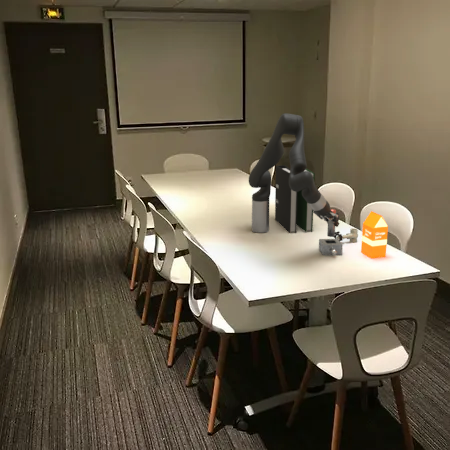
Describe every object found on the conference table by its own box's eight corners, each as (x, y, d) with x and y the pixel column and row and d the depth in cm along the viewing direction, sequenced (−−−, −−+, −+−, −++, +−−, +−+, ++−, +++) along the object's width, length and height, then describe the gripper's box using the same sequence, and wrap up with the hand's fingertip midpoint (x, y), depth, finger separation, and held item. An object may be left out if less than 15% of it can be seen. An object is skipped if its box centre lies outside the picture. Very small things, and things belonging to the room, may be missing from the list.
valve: (352, 239, 249) (332, 242, 244) (353, 227, 247) (333, 229, 243) (360, 243, 243) (340, 246, 239) (361, 230, 241) (341, 233, 237)
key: (328, 236, 227) (329, 210, 223) (326, 234, 230) (327, 208, 227) (335, 236, 227) (336, 210, 223) (333, 234, 230) (335, 208, 227)
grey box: (324, 258, 223) (325, 247, 221) (318, 248, 235) (319, 239, 234) (344, 257, 223) (344, 247, 221) (337, 248, 235) (337, 238, 234)
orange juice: (371, 258, 221) (374, 216, 216) (360, 252, 229) (363, 211, 224) (386, 256, 223) (389, 215, 218) (375, 250, 232) (378, 210, 226)
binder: (313, 231, 261) (316, 173, 252) (287, 233, 259) (288, 174, 250) (298, 218, 287) (299, 164, 278) (273, 219, 285) (274, 165, 276)
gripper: (334, 199, 213) (350, 221, 224) (310, 194, 224) (326, 215, 235) (326, 213, 211) (342, 234, 222) (302, 207, 222) (318, 227, 233)
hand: (334, 224), depth 228 cm, fingers closed on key, 3 cm apart
